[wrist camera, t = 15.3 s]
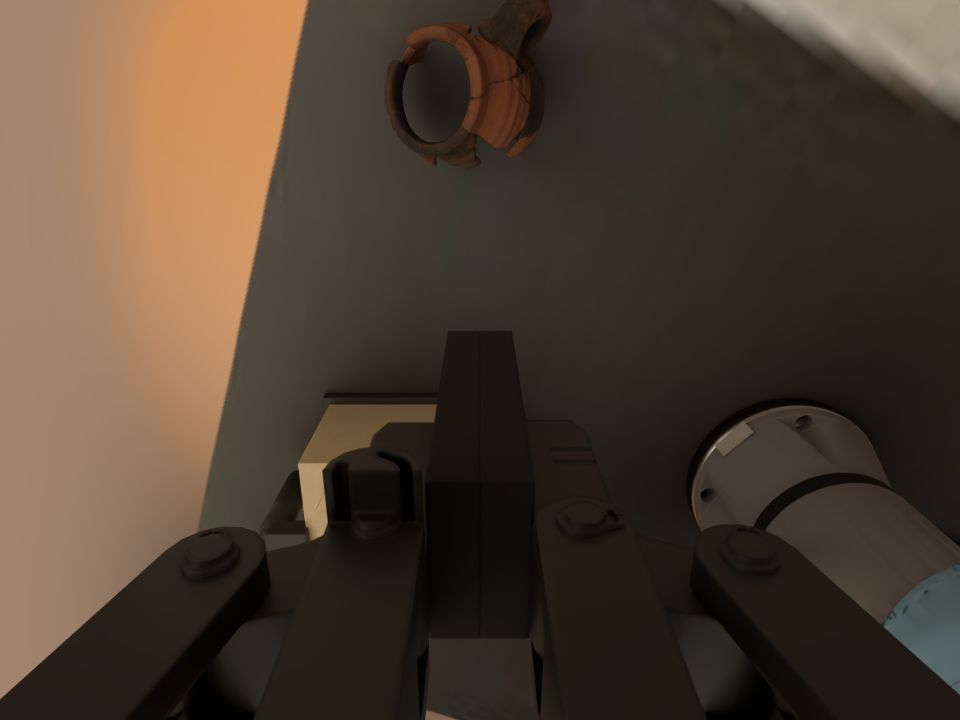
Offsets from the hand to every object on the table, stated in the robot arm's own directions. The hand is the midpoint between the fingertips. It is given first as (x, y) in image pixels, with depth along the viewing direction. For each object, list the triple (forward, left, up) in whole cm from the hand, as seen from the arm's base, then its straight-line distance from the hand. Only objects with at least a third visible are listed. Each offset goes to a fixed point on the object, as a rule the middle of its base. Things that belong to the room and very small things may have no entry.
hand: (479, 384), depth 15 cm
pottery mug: (+6, -6, -33) cm, 34 cm away
